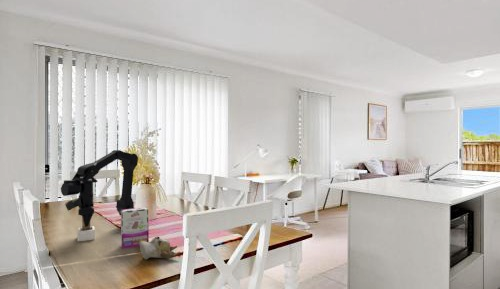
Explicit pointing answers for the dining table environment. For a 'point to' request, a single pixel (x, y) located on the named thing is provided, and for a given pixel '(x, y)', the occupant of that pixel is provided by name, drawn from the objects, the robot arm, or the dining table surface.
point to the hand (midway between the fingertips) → (86, 225)
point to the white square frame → (86, 234)
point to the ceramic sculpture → (157, 249)
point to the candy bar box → (134, 227)
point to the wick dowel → (84, 226)
